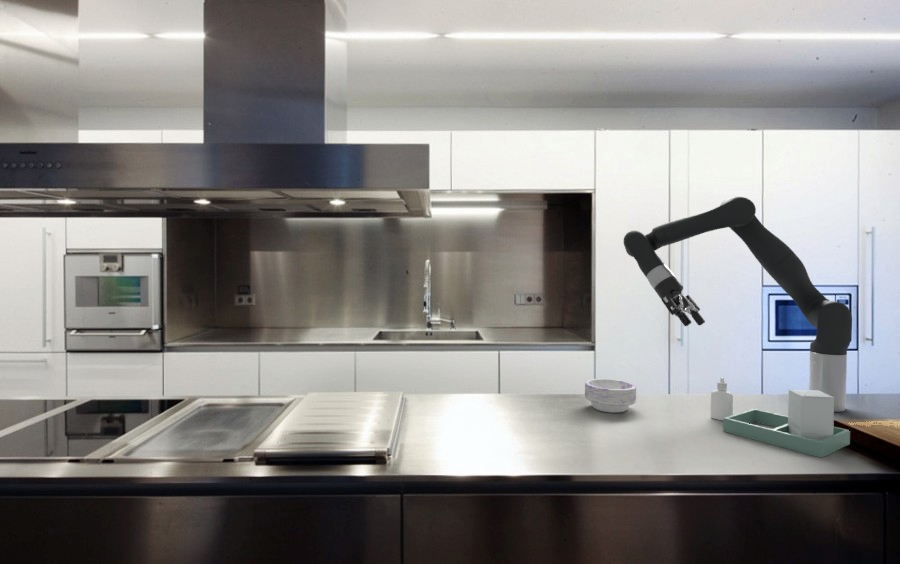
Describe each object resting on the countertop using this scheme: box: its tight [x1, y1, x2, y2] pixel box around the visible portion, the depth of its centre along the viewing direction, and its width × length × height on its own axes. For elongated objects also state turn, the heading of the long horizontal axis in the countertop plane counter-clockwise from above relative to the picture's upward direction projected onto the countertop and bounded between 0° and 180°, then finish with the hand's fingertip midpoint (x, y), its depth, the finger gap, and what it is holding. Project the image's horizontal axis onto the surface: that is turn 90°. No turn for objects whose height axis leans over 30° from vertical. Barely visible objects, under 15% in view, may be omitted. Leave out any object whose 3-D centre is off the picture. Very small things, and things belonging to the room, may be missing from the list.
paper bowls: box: [584, 378, 637, 414], centre depth 161 cm, size 15×15×8 cm
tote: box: [722, 408, 851, 458], centre depth 134 cm, size 16×23×4 cm
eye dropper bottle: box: [709, 377, 734, 422], centre depth 150 cm, size 4×6×12 cm
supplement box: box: [787, 389, 835, 441], centre depth 129 cm, size 7×7×13 cm
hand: (695, 324), depth 157 cm, fingers open, 8 cm apart
